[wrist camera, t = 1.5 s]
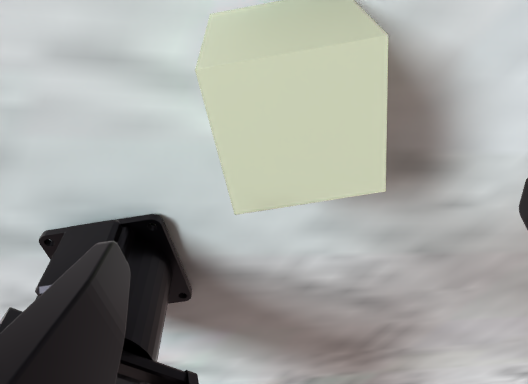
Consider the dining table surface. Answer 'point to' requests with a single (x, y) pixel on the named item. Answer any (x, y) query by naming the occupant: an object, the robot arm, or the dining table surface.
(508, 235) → the dining table surface
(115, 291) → the robot arm
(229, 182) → the green block
